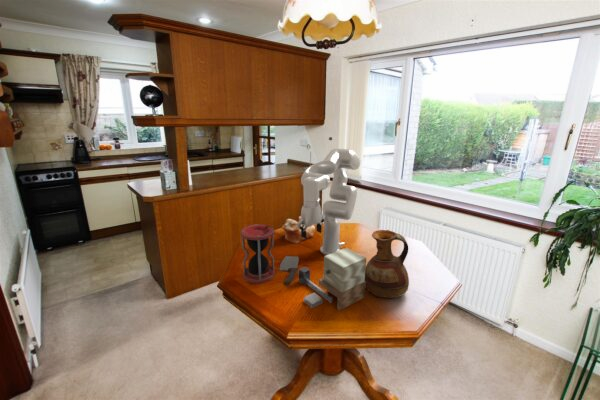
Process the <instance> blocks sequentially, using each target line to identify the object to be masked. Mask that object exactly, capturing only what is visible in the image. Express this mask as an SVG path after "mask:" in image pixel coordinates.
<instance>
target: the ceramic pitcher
mask: <svg viewBox="0 0 600 400" xmlns="http://www.w3.org/2000/svg"><path fill="white" fill-rule="evenodd" d="M371 237H372V238H373V239H374V240H375V241H376V245H375V246H376V249H377V251H376V254H375V255H373V256H372V257H371V258H370V259H369V261H368V262H366V270H365V282H366V288H365V289H367V291H368V292H369V293H371V294H373V296H377V297H379V298H391V299H392V298H394V299H395V298H399V297H400V296H401V297H402V295H403V296H404V294H406V293H407V291H408V290H409V286H410V285H409V284H410V279H409V273H408V270H407V267H406V266H405V265H404V262H405V260H406V258H407V256H408V254H409V244H408V242H407V240H406V239H405V237H404V236H403V235H401V234H400V233H397V232H395V231H393V230H389V229H386V230H385V229H379V230H378V229H377V230H375V231H373V232H372V233H371ZM393 241H400V242H402V243H403V249H402V251H401V253H400V255H399V256H396V255H394V254H393V252H392V242H393Z"/></svg>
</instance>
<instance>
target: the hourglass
mask: <svg viewBox="0 0 600 400" xmlns="http://www.w3.org/2000/svg"><path fill="white" fill-rule="evenodd" d="M274 233H275V230H274V228H273V227H272V226H270V225H269V224H268V225H267V224H263V223H258V224H250V225H247V226H245V227H243V228H242V229H241V231H240V236H241V244H242V246H241V247H242V250H243V251H244V252H245V257H243V262H242V264H243V266H242V267H243V273H242V274H243V278H244V280H245V281H246V282H249V283H252V284H262V283H266V282H269V281H270V280H272V279H273V278H274V277H275V272H276V271H275V264H274V263H275V259H274V256H273V255H272V252H271V251H272V249H273V247H274V235H275V234H274ZM269 238H270V240H269ZM245 240H246V243H247V246H248V248H250V250H252V252H254V253H255V254H254V255H252V257H251V258H250V259H249V261H248V267H247V266H246V265H247V264H246V263H247V262H246V260H247V259H248V258H249V255H250V253H249V250H248V249H246V246H245V245H246V244H245ZM269 241H270V247H269V248H268V250H267V254H268V256H269V257H270V259H271V265H270V262H269V259H268V258H267V256H265V255H264V253H262V252H263V251H264V250H265V249H266V247H268V245H269Z"/></svg>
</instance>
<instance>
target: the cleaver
mask: <svg viewBox="0 0 600 400" xmlns="http://www.w3.org/2000/svg"><path fill="white" fill-rule="evenodd" d="M299 261H300V257H299V256H292V255H291V256H290V255H286V256H285V257H284V258H283V259H282V261H281V262H280V265H279V271H281V272H289V273H287V276H286V279H285V280H284V281H283V285H284V286H290V285H291V284H292V282H293V281H294V279H295V277H296V275H297V272H298V265H299Z"/></svg>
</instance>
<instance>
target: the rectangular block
mask: <svg viewBox="0 0 600 400" xmlns="http://www.w3.org/2000/svg"><path fill="white" fill-rule="evenodd" d="M303 302H304V303H305V304H307V305H308V306H309V307H310V308H311V309H313V308H315V307H318V306H319V305H322V304H323V303H324V299H323V298H322V296H319V294H318V293H317V292H312V293H309V294H308V295H306V296H304V297H303Z"/></svg>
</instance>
